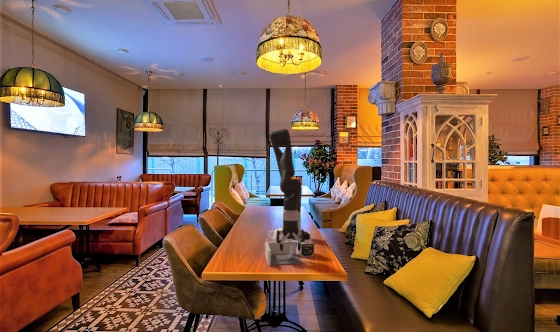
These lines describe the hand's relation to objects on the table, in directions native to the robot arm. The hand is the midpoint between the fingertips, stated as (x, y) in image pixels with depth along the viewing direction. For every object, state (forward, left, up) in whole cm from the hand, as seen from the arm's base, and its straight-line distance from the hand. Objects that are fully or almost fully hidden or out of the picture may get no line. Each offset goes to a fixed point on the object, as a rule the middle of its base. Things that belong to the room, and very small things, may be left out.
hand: (290, 250), depth 148 cm
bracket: (0, -3, -4) cm, 5 cm away
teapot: (-31, +1, -5) cm, 31 cm away
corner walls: (0, -3, -5) cm, 6 cm away
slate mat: (0, -3, -5) cm, 6 cm away
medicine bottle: (-7, +9, -5) cm, 13 cm away
